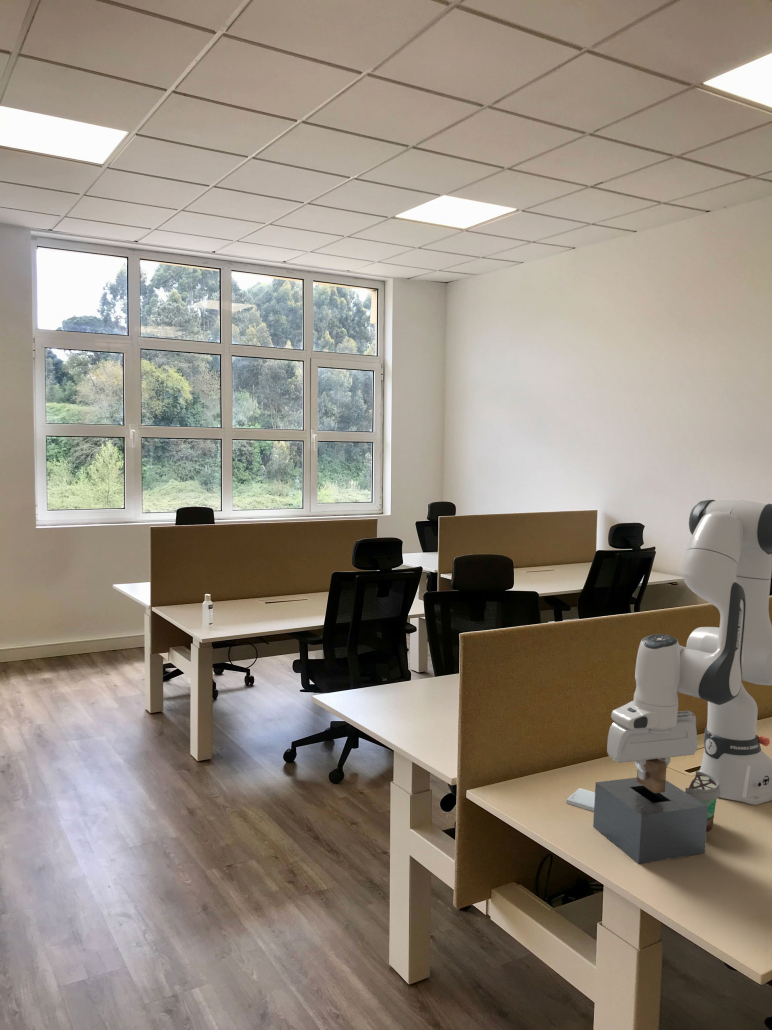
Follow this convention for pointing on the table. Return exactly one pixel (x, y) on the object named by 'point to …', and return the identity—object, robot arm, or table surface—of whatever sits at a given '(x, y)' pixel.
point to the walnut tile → (654, 776)
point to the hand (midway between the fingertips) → (651, 777)
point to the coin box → (650, 820)
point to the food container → (705, 794)
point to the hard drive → (582, 799)
